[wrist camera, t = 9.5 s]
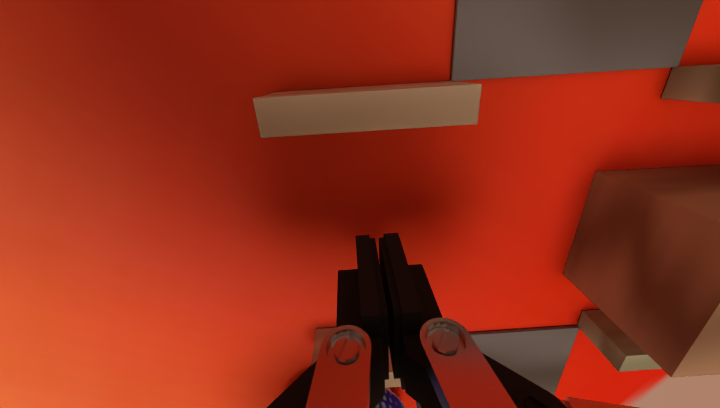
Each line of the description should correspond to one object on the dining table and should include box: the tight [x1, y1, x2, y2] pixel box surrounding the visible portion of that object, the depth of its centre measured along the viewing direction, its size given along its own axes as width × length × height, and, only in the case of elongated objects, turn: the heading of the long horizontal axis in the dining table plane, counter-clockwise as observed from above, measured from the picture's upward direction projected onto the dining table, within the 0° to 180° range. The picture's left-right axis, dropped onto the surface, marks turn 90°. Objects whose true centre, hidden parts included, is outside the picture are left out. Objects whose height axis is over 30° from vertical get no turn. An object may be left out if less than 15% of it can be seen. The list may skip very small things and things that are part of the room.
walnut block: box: [563, 165, 720, 377], centre depth 12 cm, size 6×6×6 cm
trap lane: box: [253, 0, 720, 395], centre depth 13 cm, size 28×22×4 cm
